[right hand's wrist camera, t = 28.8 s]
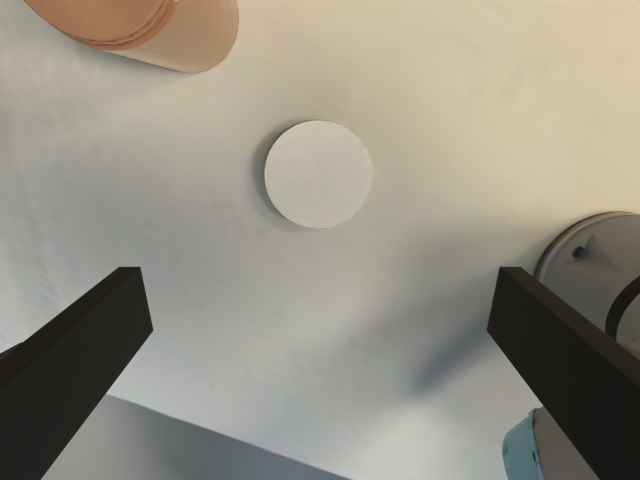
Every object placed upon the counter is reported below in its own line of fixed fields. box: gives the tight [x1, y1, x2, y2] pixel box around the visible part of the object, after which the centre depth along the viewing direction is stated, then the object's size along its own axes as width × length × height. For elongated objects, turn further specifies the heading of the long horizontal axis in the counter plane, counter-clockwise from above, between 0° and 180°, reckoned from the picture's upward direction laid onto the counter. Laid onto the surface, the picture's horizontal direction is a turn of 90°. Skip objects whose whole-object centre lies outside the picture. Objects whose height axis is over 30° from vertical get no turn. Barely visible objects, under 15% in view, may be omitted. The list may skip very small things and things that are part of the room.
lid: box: [264, 120, 372, 229], centre depth 36 cm, size 11×11×2 cm
